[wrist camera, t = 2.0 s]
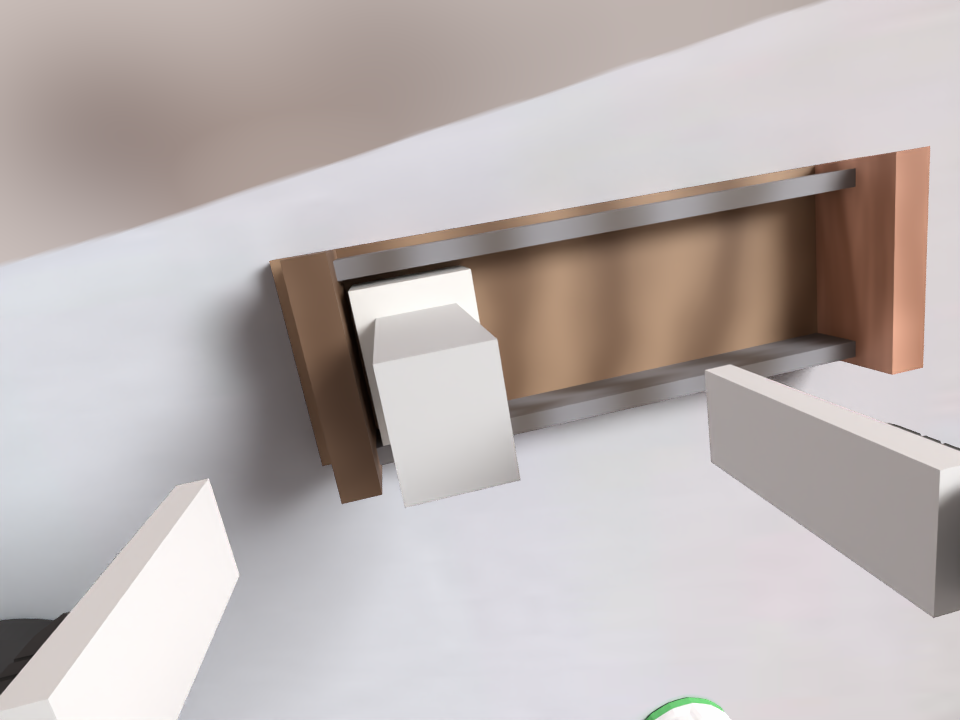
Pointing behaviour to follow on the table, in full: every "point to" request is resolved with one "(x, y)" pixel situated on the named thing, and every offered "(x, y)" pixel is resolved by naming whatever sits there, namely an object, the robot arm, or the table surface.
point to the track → (639, 296)
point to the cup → (689, 710)
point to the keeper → (435, 383)
